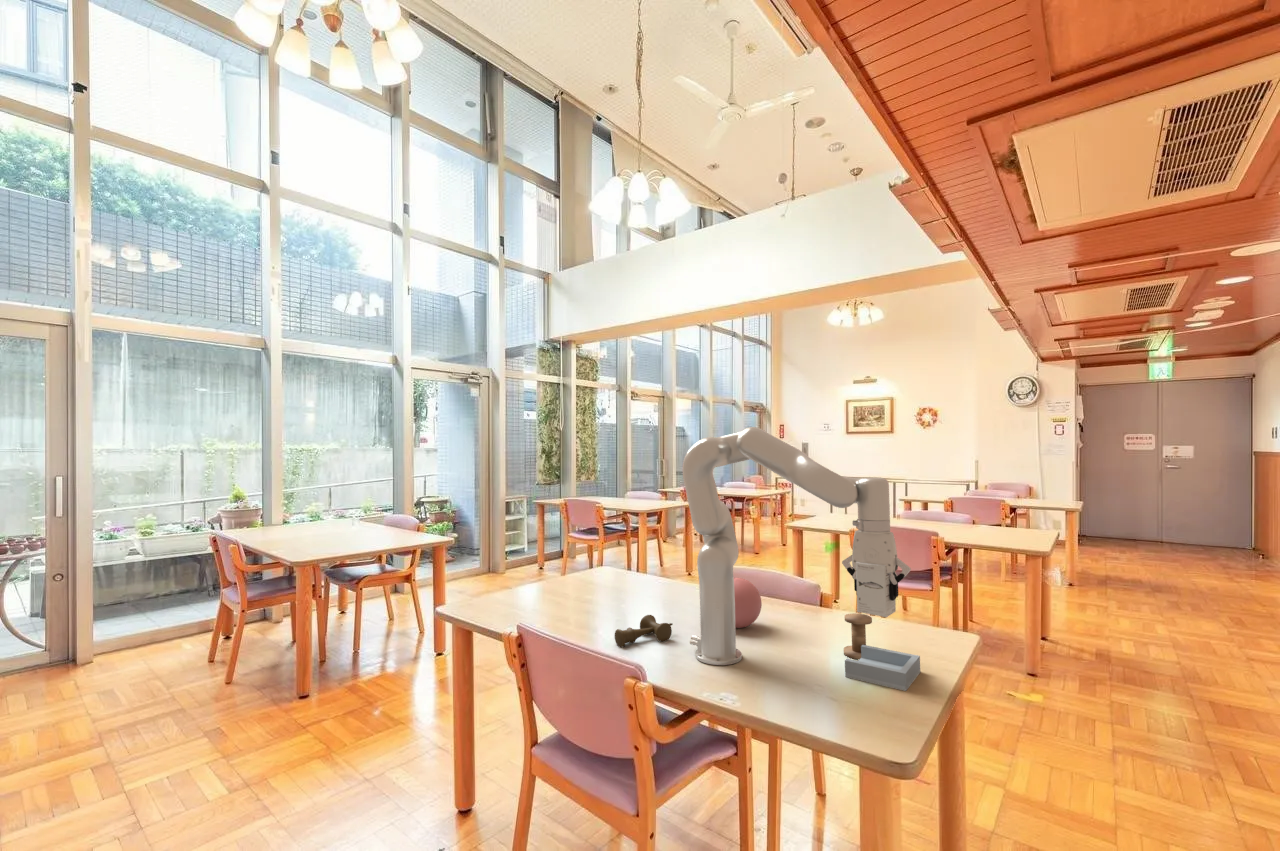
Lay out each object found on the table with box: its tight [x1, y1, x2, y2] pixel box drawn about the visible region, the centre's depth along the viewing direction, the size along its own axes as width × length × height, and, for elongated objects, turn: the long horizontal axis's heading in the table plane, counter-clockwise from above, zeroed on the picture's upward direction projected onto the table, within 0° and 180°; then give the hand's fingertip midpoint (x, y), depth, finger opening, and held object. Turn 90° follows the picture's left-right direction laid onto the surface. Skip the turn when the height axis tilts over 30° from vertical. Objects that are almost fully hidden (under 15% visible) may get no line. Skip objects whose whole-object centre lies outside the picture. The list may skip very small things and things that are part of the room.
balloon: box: [734, 577, 763, 629], centre depth 184 cm, size 15×20×15 cm
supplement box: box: [856, 562, 897, 618], centre depth 144 cm, size 7×7×13 cm
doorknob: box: [843, 612, 873, 660], centre depth 156 cm, size 8×8×10 cm
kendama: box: [614, 614, 673, 648], centre depth 171 cm, size 6×10×20 cm
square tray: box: [844, 644, 921, 692], centre depth 142 cm, size 14×14×4 cm
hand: (876, 596), depth 144 cm, fingers closed on supplement box, 7 cm apart
